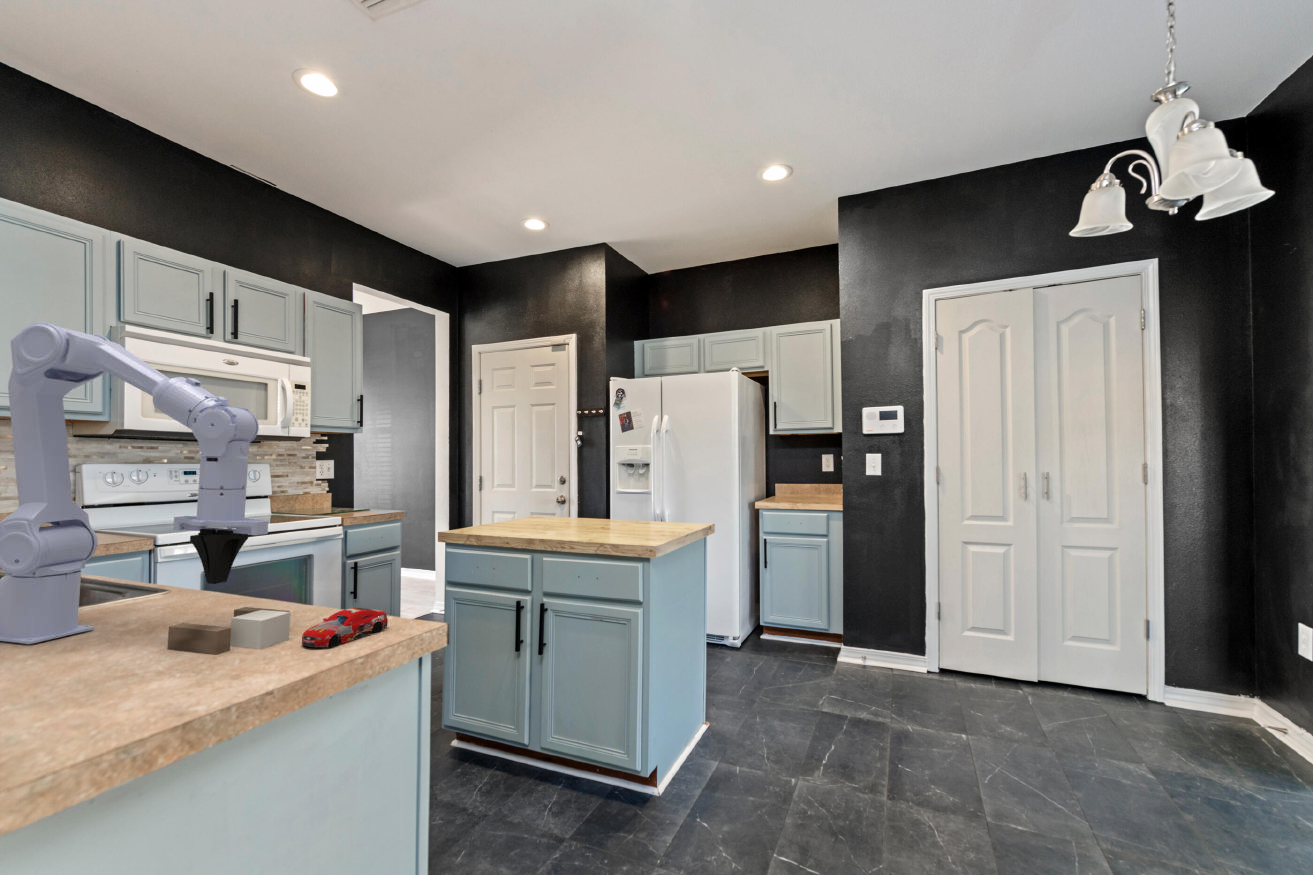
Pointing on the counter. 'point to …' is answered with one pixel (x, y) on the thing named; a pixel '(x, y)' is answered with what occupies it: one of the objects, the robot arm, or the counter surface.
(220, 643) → the parallel wooden rails
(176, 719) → the counter surface
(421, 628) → the counter surface
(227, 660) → the counter surface
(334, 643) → the race car
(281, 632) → the off-white block
